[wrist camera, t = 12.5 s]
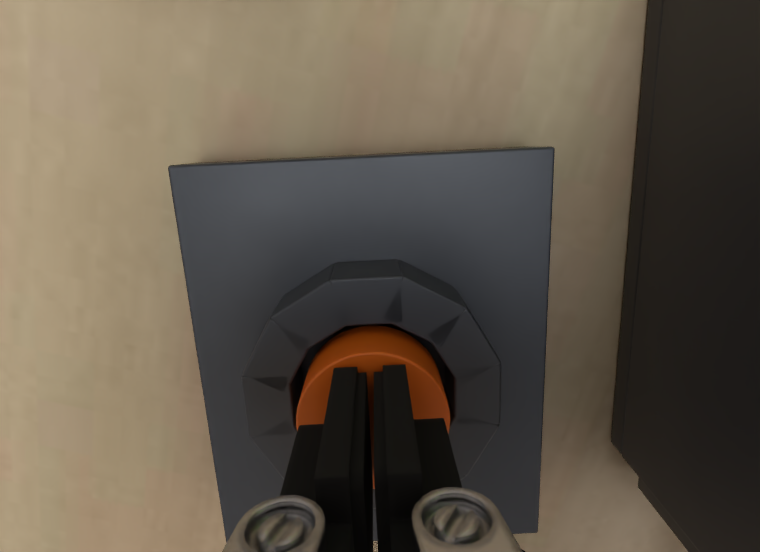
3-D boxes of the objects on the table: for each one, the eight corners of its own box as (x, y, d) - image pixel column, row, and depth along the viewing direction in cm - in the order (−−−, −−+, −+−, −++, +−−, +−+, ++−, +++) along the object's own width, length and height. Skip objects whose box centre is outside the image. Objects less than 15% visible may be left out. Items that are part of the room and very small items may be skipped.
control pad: (518, 487, 18) (559, 582, 14) (244, 500, 18) (208, 600, 14) (529, 146, 15) (584, 146, 11) (196, 163, 15) (133, 168, 11)
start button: (441, 443, 13) (451, 486, 12) (311, 450, 13) (302, 493, 12) (439, 321, 13) (450, 348, 11) (299, 328, 12) (288, 356, 11)
